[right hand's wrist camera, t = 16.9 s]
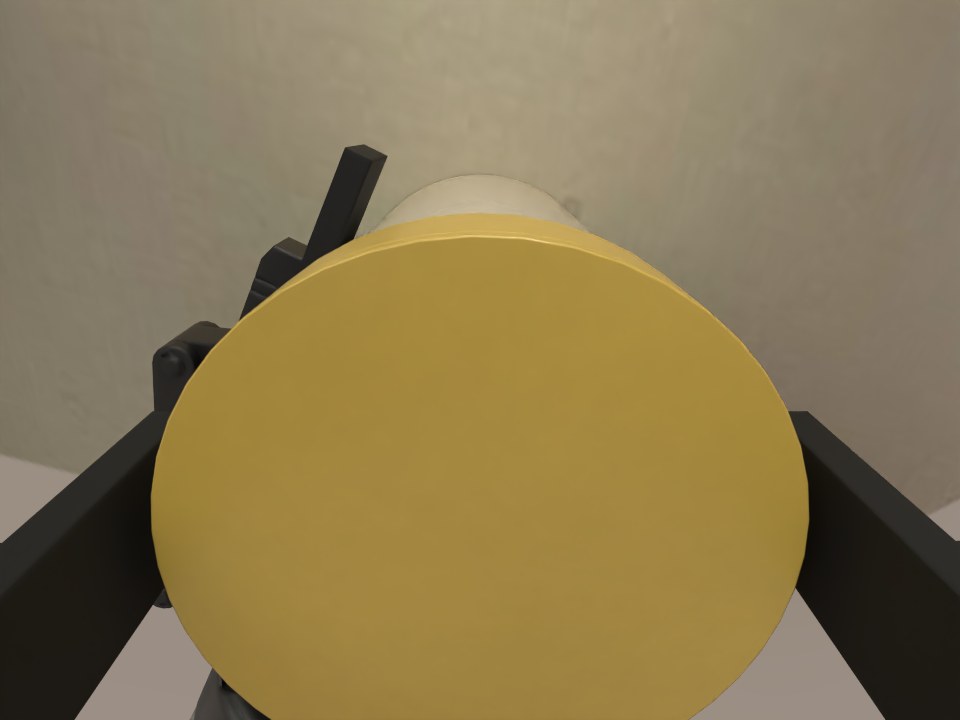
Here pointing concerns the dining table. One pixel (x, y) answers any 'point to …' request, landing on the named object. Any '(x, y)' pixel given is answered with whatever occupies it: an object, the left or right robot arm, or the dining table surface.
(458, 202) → the jar
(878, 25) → the dining table surface
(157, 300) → the dining table surface
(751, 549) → the lid
